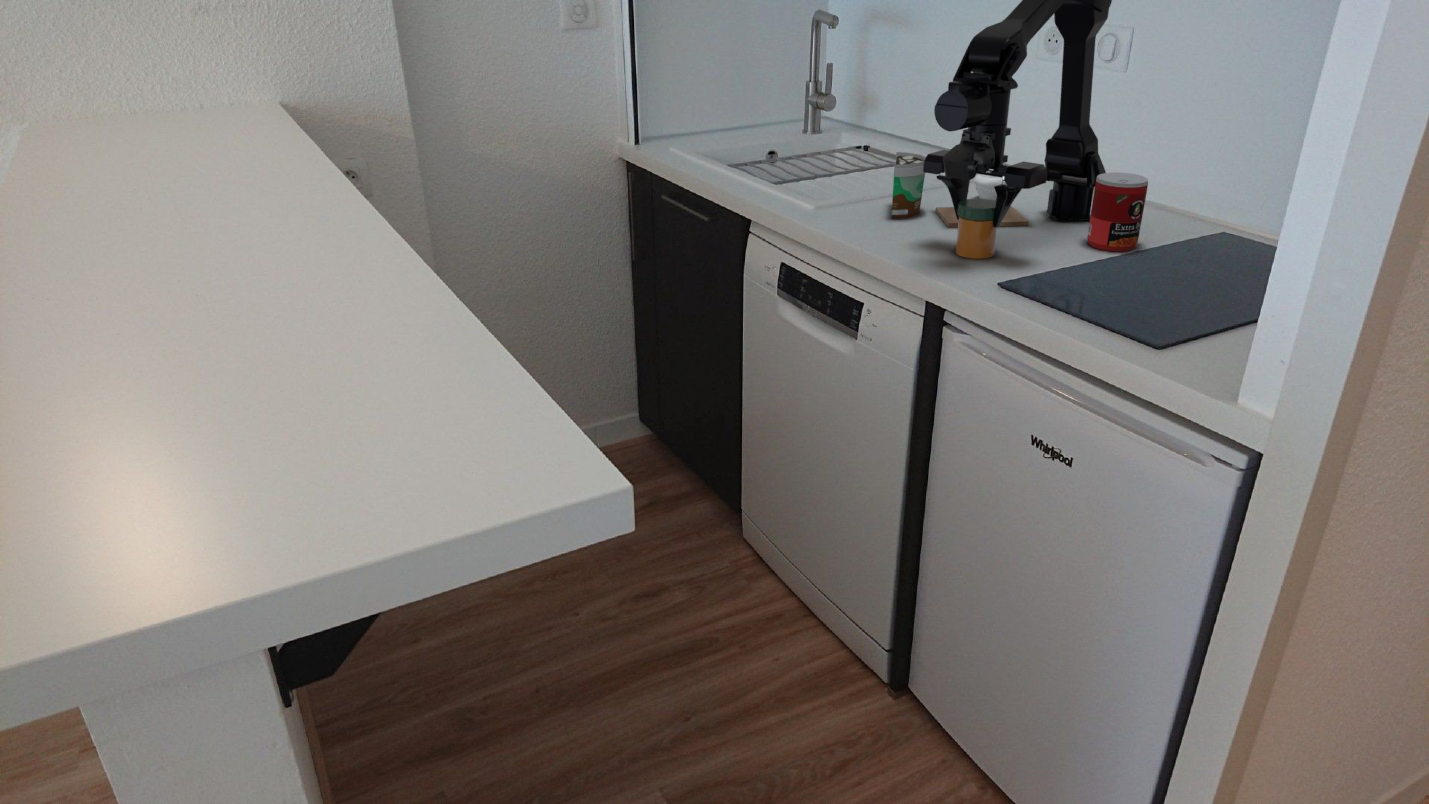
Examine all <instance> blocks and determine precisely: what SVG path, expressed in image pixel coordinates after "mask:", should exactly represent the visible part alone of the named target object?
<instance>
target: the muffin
mask: <svg viewBox="0 0 1429 804" xmlns="http://www.w3.org/2000/svg"><path fill="white" fill-rule="evenodd" d="M989 170H993V169H989ZM973 183H974V187H975V188H974V189H975V190H976V192H977V195H978V197H979V199H989V200H994V201H996V199H997V194H996V191H995V188H994V186H997V185H1000V184H1002V178H1001V177H994V176H988V175H982V174H976V176H975V177H974V178H973Z"/></svg>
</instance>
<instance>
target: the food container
mask: <svg viewBox="0 0 1429 804" xmlns="http://www.w3.org/2000/svg"><path fill="white" fill-rule="evenodd" d="M895 155H896V156H895V164H894V166H893V167H894V168H893V186H892V199H891V200H892V201H891V216H890V217H891V220H903V219H909V218H914V217H917V216H919V215H920V211H921V206H922V205H921V204H922V197H923V191H924V185H925V177H926V173H925V172H923V161H924V159H925V157H926V156H925V155H922V154H919V153H915V152H904V151H896V154H895Z"/></svg>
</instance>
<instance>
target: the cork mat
mask: <svg viewBox="0 0 1429 804" xmlns="http://www.w3.org/2000/svg"><path fill="white" fill-rule="evenodd" d="M935 213H936V215H938V216H939V219H941V221H943V223H944V224H945V226H946V227H947V228H958V222H959V220H957V217H956V213H955V210H954V206H945V207H944V206H942V207H940V206H939V207H935ZM1028 226H1029V221H1028V220H1027V219H1026V218H1025V217H1024V216H1023V215H1022V214H1021V213H1020V212H1019V211H1018V210H1016V209H1015V208H1014V207H1013V206H1012V205H1011V206H1010V208H1009V209H1008V211H1007V213H1006V215H1005V217H1004V218H1003V220H1002V222H1001V224H1000V225H999V226H998V227H1028Z"/></svg>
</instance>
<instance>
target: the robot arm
mask: <svg viewBox="0 0 1429 804" xmlns="http://www.w3.org/2000/svg"><path fill="white" fill-rule="evenodd" d="M1112 2H1113V0H1021V1H1020V2H1019V3H1018V4H1017V5H1016V7H1014V9H1013V10H1012V11H1011V12H1010V13H1009V14H1008V15H1007V16H1006V17H1005V18H1004V19H1002V20H1001V21H999V22H997V23H995V24H992V25H988V26H986V27H985V28H983V29H982V30H981V31H979V32H978V33H977V34H975V35H974V36H973V37H972V39H971V41H970V42H969V44H968V46H967V48H966V50H965V52H964V54H963V57H962V59H961V61H960V63H959V65H958V67H957V69H956V71H955V74H954V76H953V78H952V81H949V82H948V86H947V90H946V91H944V92H943V93H941V95H939V97H938V98H937V100H936V103H935V105H934V118H935V121H936V123H937V124H938V126H939V128H941V129H942V130H944V131H947V132H957V131H961V130H962V133H961V139H960V142H959V143H958V144H955V145H954V146H953V147H951V149H950V150H947V149H941V150H938V151H937V150H936V151H934V152H930V153H927V155H926V156H925V159H924V161H923V172H925V174H930V175H931V174H932V175H936V176H935V177H936V179H937V180H938V181H941V182H942V183H943V184H944V185H945V186H946V188H947V190H948V192H949V195H950V199H951V202H952V205H953V206H952V207H954V210H955V213H956V217H957V220H959V216H958V214H957V211H958V206H959V202H960V201H962V200H965V199H968V195H969V194H968V193H969V188H970V183H971V181H972V180H974V179H975V177H976V176H977V175H979V174H982V175H988V176H994V177H1001V178H1002V184H1000V185H997V186H994V188H995V191H996V194H997V199H996V206H995V213H994V227H997V228H999V227H1000V226H999V225H1000V224H1001V222H1002V220H1003V218H1004V217H1005V215H1006V213H1007V211H1008V209H1009V208H1010V206H1012V204H1013V203H1014V201H1015V199H1016V198H1017V197H1018V195H1019V194H1020V193H1021V191H1022V190H1030V189H1033V188H1035V187H1038V186H1040V185H1044V184H1046V183H1047V182H1053V185H1052V188H1050V190H1049V191H1048V201H1047V207H1046V208H1047V209H1046V210H1045V211H1046V213H1047V214H1048V215H1049V216H1050V217H1052V219H1054V220H1055V221H1058V222H1063V221H1064V222H1065V221H1067V222H1068V221H1070V222H1071V221H1090V216H1091V210H1092V203H1093V196H1094V189H1095V184H1096V179H1097V176H1098V175H1100V174H1103V173H1107V172H1106V169H1105V166H1104V164H1103V162H1102V158H1101V157H1100V153H1099V138H1098V137H1097V135H1096V133H1095V131H1094V129H1093V127H1092V126H1091V123H1090V121H1091V106H1092V91H1093V80H1094V79H1093V78H1094V66H1095V54H1096V53H1095V51H1096V39H1097V35H1098V33H1099V32H1100V31H1101V29H1102V27H1103V26H1104V25H1105V23H1106V21H1108V18H1109V12H1110V7H1111V5H1112ZM1053 16H1054V18H1053V19H1054V20H1053V22H1054V26H1056V28H1057V30H1058V32H1059V34H1060V36H1061V37H1062V39H1063V48H1062V49H1063V50H1062V66H1061V67H1062V68H1061V83H1060V100H1059V101H1060V102H1059V116H1058V117H1059V120H1058V127H1057V129H1056V130H1055V132H1054V133H1053V135H1052V136H1051V137H1049V138H1048V139H1047V140H1046V142H1045V155H1044V156H1045V157H1044V164H1043V163H1037V162H1031V161H1020V162H1017V163H1014V164H1011V165H1007V164H1005V163H1008V161H1009V160H1008V158H1009V155H1007V154H1005V148H1006V139H1007V137H1008V136H1011V132H1012V127H1008V122H1009V121H1008V120H1009V111H1010V102H1011V93H1012V90H1015V89H1018V87H1019V83H1018V82H1017V81H1016V80H1015V79H1014V78H1013V76H1014V75H1015V74H1016V73H1017V72H1018V70H1019V69H1020V67H1021V66H1022V64H1023V63H1024V62H1025V60H1026V58H1027V56H1028V45H1029V43H1030V42H1031V40H1032V39H1033V38H1034V37H1035V36H1036V35H1037V33H1038V32H1039V31H1040V30H1041V29H1042V28H1043V27H1044V26H1045V25H1046V24H1047V22H1048V21H1049V20H1050V19H1051V18H1052V17H1053ZM989 169H993V170H989Z"/></svg>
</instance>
